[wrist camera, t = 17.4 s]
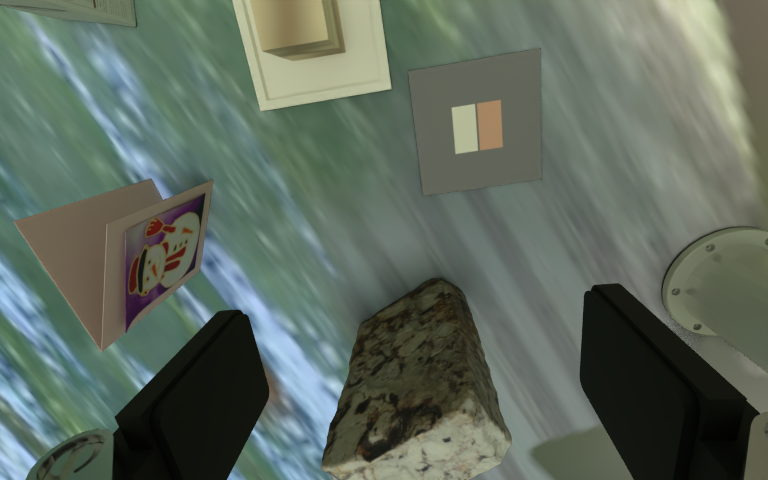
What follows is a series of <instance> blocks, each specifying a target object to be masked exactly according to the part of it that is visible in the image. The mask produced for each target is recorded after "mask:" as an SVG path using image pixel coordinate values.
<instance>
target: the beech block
mask: <svg viewBox="0 0 768 480" xmlns="http://www.w3.org/2000/svg"><path fill="white" fill-rule="evenodd" d="M250 3H251V7H252V12H253V16H254V20H255V24H256V29H257V33H258V37H259V42H260V46H261V50H262V51H263V52H266V53H269V54H272V55H275V56H278V57H281V58H284V59H287V60H290V61H299V60H305V59H311V58H317V57H322V56H328V55H334V54H340V53H346V50H345V44H344V38H343V32H342V26H341V19H340V13H339V7H338V1H337V0H250Z"/></svg>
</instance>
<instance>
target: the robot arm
mask: <svg viewBox="0 0 768 480" xmlns="http://www.w3.org/2000/svg"><path fill="white" fill-rule="evenodd" d="M662 294H663V302H664V305H665V309H666V310H667V312H668V313H669V315H670V316H671V317H672V318H673V319H674V320H675V321H676V322H677V323H678V324H680V325H681V326H682V327H684V328H685V329H687V330H689V331H691V332H694V333H697V334H702V335H709V336H720V337H721V338H722V339H724V340H725V341H726V342H728V343H729V344H730V345H732V346H733V347H734V348H736V349H737V350H738V351H739V352H741V353H742V354H743V355H745V356H746V357H747V358H749V359H750V360H751V361H753V362H754V363H755V364H757V365H758V366H759V367H761V368H762V369H763V370H764V371H766V372H767V373H768V232H767V231H765V230H761V229H757V228H749V227H738V228H729V229H725V230H722V231H718V232H715V233H713V234H710V235H708V236H706V237H703V238H702V239H700V240H699V241H697V242H695V243H694V244H692V245H691V246H690V247H688V248H687V249H686V250H685V251H684V252H682V253H681V255H680V256H679V257H678V258H677V259H676V260H675V261H674V263H673V264H672V266H671V268H670V269H669V271H668V273H667V275H666V278H665V280H664V285H663V290H662ZM580 382H581V386H582V388H583V391H584V392H585V394H586V396H587V398H588V399H589V401H590V403H591V405H592V406H593V408H594V410H595V412H596V414H597V415H598V417H599V419H600V421H601V422H602V424H603V426H604V428H605V429H606V431H607V433H608V435H609V436H610V438H611V440H612V442H613V443H614V445H615V447H616V449H617V451H618V452H619V454H620V456H621V458H622V459H623V461H624V463H625V465H626V466H627V468H628V470H629V472H630V473H631V475H632V477H633V479H634V480H768V412H765V413H762V414H760V413H759V412H758V411H757V410H756V409H755V408H754V407H752V406H751V405H750V404H749V403H748V402H747V401H746V400H747V398H746V397H745V396H743V395H742V394H741V393H740V392H739V391H738V390H737V389H736V388H735V387H733V386H732V385H731V384H730V383H729V382H728V381H727V380H726V379H725V378H723V377H722V376H721V375H720V374H719V373H718V372H717V371H716V370H715V369H714V368H712V367H711V366H710V365H709V364H708V363H707V362H706V361H705V360H704V359H702V358H701V357H700V356H699V355H698V354H697V353H696V352H695V351H694V350H693V349H691V348H690V347H689V346H688V345H687V344H686V343H685V342H684V341H683V340H681V339H680V338H679V337H678V336H677V335H676V334H675V333H674V332H673V331H671V330H670V329H669V328H668V327H667V326H666V325H665V324H664V323H663V322H662V321H660V320H659V319H658V318H657V317H656V316H655V315H654V314H653V313H652V312H650V311H649V310H648V309H647V308H646V307H645V306H644V305H643V304H642V303H640V302H639V301H638V300H637V299H636V298H635V297H634V296H633V295H632V294H630V293H629V292H628V291H627V290H626V289H625V288H624V287H623V286H622V285H620V284H619V283H616V284H602V285H594V286H592V289H591V291H586V292H585V295H584V308H583V326H582V343H581V361H580ZM268 398H269V386H268V383H267V379H266V376H265V372H264V369H263V365H262V362H261V358H260V355H259V351H258V348H257V344H256V341H255V338H254V334H253V331H252V327H251V324H250V320H249V317H248V316H247V315H246V314H243V313H242V311H241V310H225V311H219V312H217V313H216V314H215V315H214V316H213V317H212V318H211V319H210V320H209V321H208V322H207V323H206V324H205V325H204V326H203V327H202V328H201V329H200V331H199V332H198V333H197V334H196V335H195V336H194V337H193V338H192V339H191V340H190V341H189V342H188V343H187V344H186V345H185V346H184V347H183V348H182V349H181V350H180V351H179V352H178V353H177V354H176V355H175V356H174V357H173V358H172V359H171V360H170V361H169V362H168V363H167V364H166V365H165V366H164V367H163V368H162V369H161V370H160V371H159V372H158V373H157V374H156V375H155V376H154V377H153V379H152V380H151V381H150V382H149V383H148V384H147V385H146V386H145V387H144V388H143V389H142V390H141V391H140V392H139V393H138V394H137V395H136V396H135V397H134V398H133V399H132V400H131V401H130V402H129V403H128V404H127V405H126V406H125V407H124V408H123V409H122V410H121V411H120V412H119V413H118V414H117V415H116V416H115V419H116V421H117V423H118V425H119V428H118V429H117V430H116V431H115V432H114V433H113V434H112V432H111V431H109V430H108V429H100V428H98V429H93V430H88V431H85V432H82V433H80V434H77V435H75V436H73V437H71V438H69V439H67V440H65V441H63V442H61V443H60V444H58V445H57V446H56V447H54V448H53V449H51V450H50V451H49V452H47V453H46V454H45V455H44V456H43V457H42V458H40V459H39V460H38V461H37V463H36V464H35V465H34V466H33V467H32V468H31V470H30V472H29V474H28V476H27V478H26V480H227V478H228V476H229V474H230V472H231V470H232V469H233V467H234V465H235V463H236V461H237V459H238V457H239V455H240V453H241V451H242V449H243V447H244V445H245V443H246V441H247V440H248V438H249V436H250V434H251V432H252V430H253V428H254V426H255V424H256V422H257V420H258V418H259V416H260V414H261V412H262V411H263V409H264V407H265V405H266V403H267V401H268Z"/></svg>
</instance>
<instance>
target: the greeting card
mask: <svg viewBox="0 0 768 480" xmlns="http://www.w3.org/2000/svg"><path fill="white" fill-rule="evenodd" d="M212 186H213V180H211V181H209V182H206V183H204V184H201V185H199V186H197V187H194V188H192V189H189V190H187V191H185V192H182V193H180V194H177V195H175V196H172V197H170V198H168V199H165V200H163V199H162V197H161V196H160V194H159V192H158V190H157V188H156V186H155V184H154V182H153V180H152V179H149V180H145V181H142V182H139V183H136V184H133V185H129V186H126V187H123V188H120V189H116V190H113V191H110V192H107V193H104V194H100V195H97V196H94V197H91V198H88V199H84V200H81V201H78V202H75V203H71V204H68V205H65V206H62V207H59V208H55V209H52V210H49V211H46V212H43V213H39V214H36V215H33V216H30V217H26V218H23V219H20V220H17V221H14V224H15V225H16V227H17V228H18V230H19V231H20V233H21V234H22V236H23V237H24V239H25V240H26V242H27V243H28V245H29V246H30V247H31V249H32V250H33V252H34V253H35V255H36V256H37V258H38V259H39V261H40V262H41V264H42V265H43V267H44V268H45V270H46V271H47V273H48V274H49V276H50V277H51V279H52V280H53V282H54V283H55V284H56V286H57V287H58V289H59V290H60V292H61V293H62V295H63V296H64V298H65V299H66V301H67V302H68V304H69V305H70V307H71V308H72V310H73V311H74V313H75V314H76V316H77V317H78V318H79V320H80V321H81V323H82V324H83V326H84V327H85V329H86V330H87V332H88V333H89V335H90V336H91V338H92V339H93V341H94V342H95V344H96V345H97V347H98V348H99V350H100V351H101V352H102V351H103V350H105V349H106V348H107V347H108V346H110V345H111V344H112V343H113V342H114V341H116V340H117V339H118V338H119V337H120V336H122V335H123V334H124V333H125V332H127V331H128V330H129V329H130V328H131V327H132V326H134V325H135V324H136V323H137V322H139V321H140V320H141V319H142V318H143V317H145V316H146V315H147V314H148V313H149V312H151V311H152V310H153V309H154V308H155V307H157V306H158V305H159V304H160V303H161V302H163V301H164V300H165V299H166V298H168V297H169V296H170V295H171V294H172V293H174V292H175V291H176V290H177V289H178V288H180V287H181V286H182V285H183V284H184V283H186V282H187V281H188V280H189V279H190V278H192V277H193V276H194V275H195V274H197V273H198V272H199V271H200V266H201V259H202V253H203V246H204V239H205V233H206V226H207V219H208V213H209V206H210V200H211V193H212Z"/></svg>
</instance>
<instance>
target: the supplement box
mask: <svg viewBox="0 0 768 480" xmlns="http://www.w3.org/2000/svg"><path fill="white" fill-rule="evenodd" d="M0 6H3V7H7V8H12V9H16V10H20V11H25V12H29V13H33V14H38V15H42V16H47V17H51V18H56V19H60V20H73V21H88V22H97V23H107V24H116V25H124V26H131V27H136V18H135V9H134V1H133V0H0Z"/></svg>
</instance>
